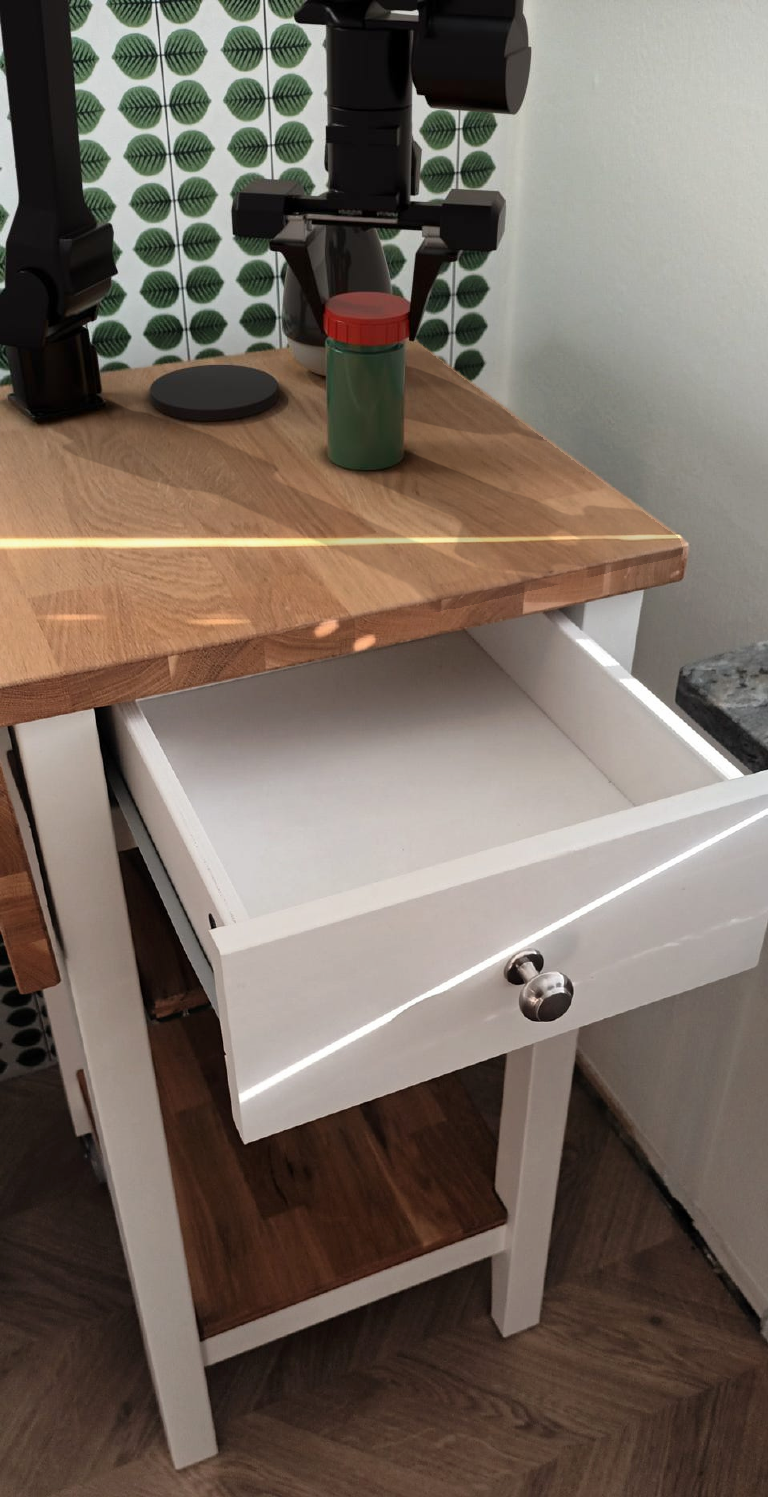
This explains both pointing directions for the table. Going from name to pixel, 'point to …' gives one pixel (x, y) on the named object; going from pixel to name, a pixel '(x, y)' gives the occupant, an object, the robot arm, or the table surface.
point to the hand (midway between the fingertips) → (369, 336)
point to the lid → (367, 318)
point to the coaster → (214, 392)
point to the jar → (365, 404)
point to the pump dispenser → (333, 288)
